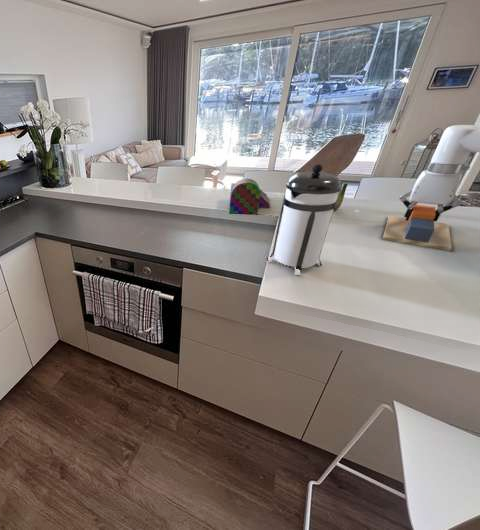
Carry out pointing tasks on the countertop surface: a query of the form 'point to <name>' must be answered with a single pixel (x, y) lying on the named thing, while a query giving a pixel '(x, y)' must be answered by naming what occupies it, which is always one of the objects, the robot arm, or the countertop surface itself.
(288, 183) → the coffee press
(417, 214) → the orange rectangular block
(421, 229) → the blue gray block
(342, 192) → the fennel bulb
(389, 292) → the countertop surface
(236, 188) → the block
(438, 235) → the tan wooden board
